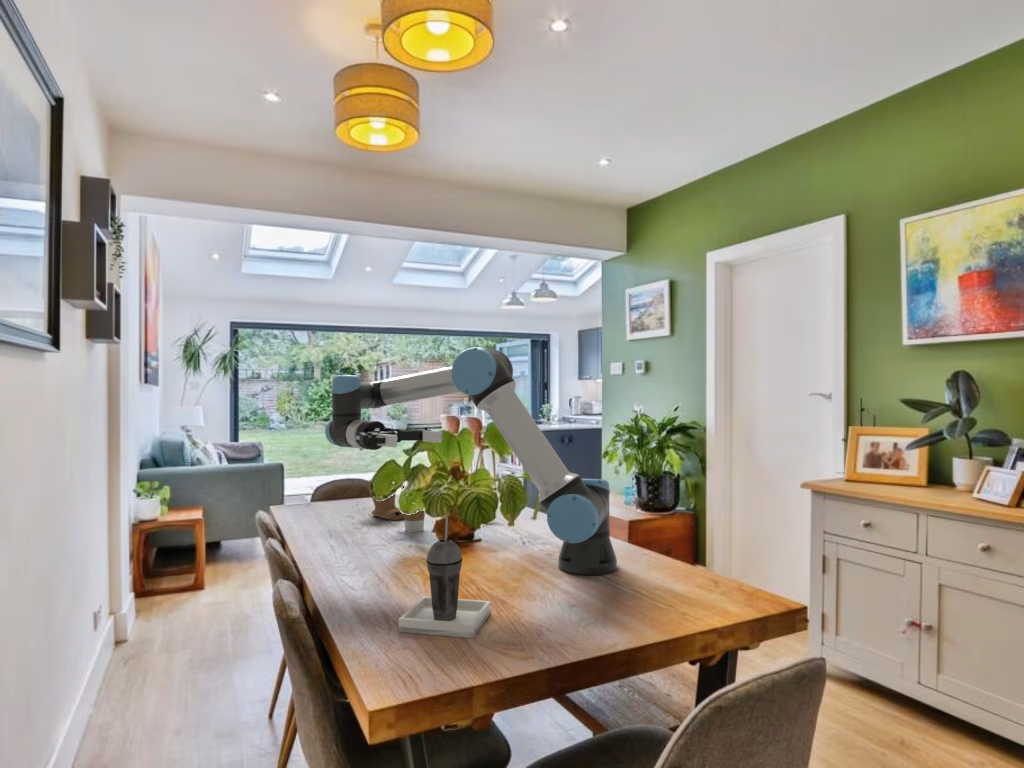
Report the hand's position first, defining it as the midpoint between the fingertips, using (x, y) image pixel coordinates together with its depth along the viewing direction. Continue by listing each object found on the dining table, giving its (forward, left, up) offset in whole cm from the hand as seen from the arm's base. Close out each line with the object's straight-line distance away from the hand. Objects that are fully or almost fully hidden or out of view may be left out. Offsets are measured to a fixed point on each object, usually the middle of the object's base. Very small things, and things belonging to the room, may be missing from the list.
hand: (419, 439), depth 145 cm
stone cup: (+40, -70, -35) cm, 88 cm away
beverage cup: (-13, +20, -34) cm, 41 cm away
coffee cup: (+23, -54, -35) cm, 68 cm away
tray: (-13, +19, -35) cm, 42 cm away
